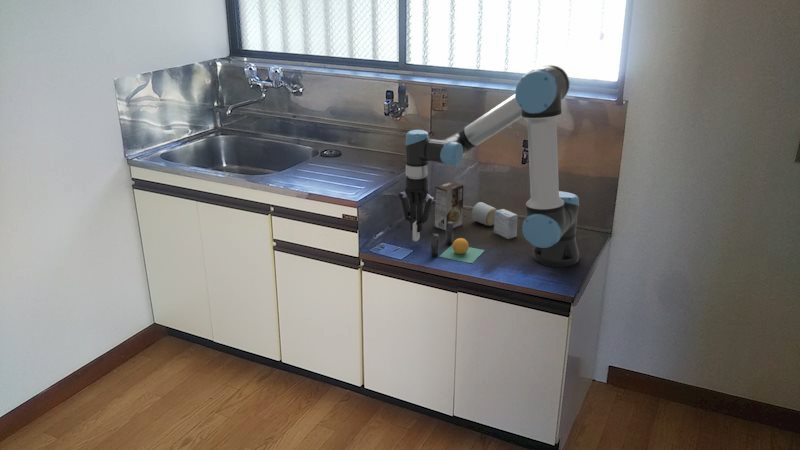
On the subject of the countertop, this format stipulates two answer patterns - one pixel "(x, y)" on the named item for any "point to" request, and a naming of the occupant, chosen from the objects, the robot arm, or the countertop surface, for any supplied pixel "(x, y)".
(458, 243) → the ball
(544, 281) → the countertop surface
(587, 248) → the countertop surface
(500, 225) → the medicine box
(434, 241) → the post
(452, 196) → the coffee box
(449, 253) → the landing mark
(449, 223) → the post
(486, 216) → the white cylinder
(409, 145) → the robot arm
